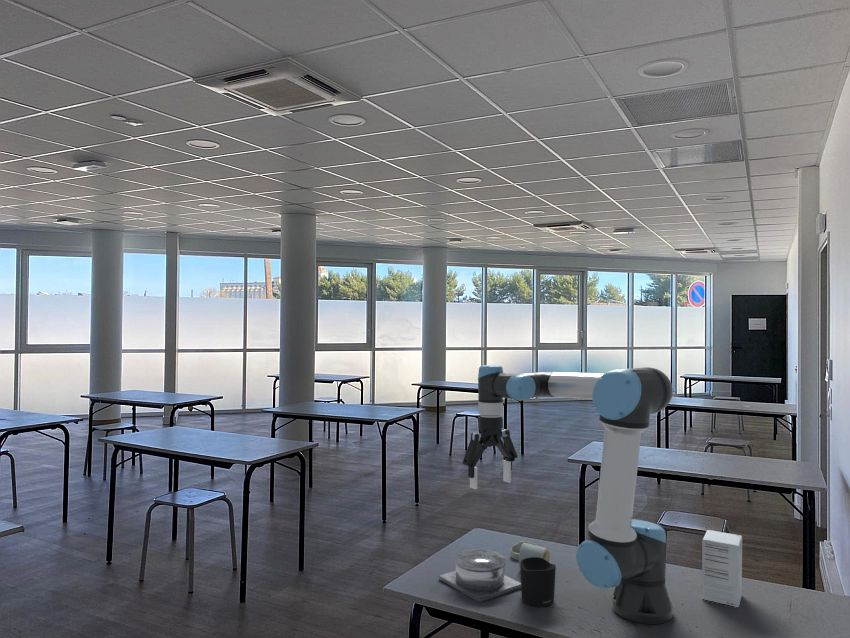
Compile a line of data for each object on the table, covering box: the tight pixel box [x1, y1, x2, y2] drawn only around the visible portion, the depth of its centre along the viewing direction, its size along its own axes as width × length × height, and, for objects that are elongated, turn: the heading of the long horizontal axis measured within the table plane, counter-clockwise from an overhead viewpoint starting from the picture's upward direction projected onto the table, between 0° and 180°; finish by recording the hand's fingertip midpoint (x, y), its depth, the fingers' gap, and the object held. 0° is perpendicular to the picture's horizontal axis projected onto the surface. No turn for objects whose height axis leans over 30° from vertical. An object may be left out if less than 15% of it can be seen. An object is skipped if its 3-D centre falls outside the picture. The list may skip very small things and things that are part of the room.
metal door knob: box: [438, 548, 521, 603], centre depth 180 cm, size 18×16×7 cm
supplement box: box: [701, 529, 743, 608], centre depth 172 cm, size 10×9×17 cm
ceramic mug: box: [518, 543, 550, 570], centre depth 191 cm, size 11×8×8 cm
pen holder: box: [520, 557, 557, 608], centre depth 169 cm, size 9×9×10 cm
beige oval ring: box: [510, 539, 538, 561], centre depth 200 cm, size 9×6×5 cm
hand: (490, 485), depth 191 cm, fingers open, 13 cm apart
